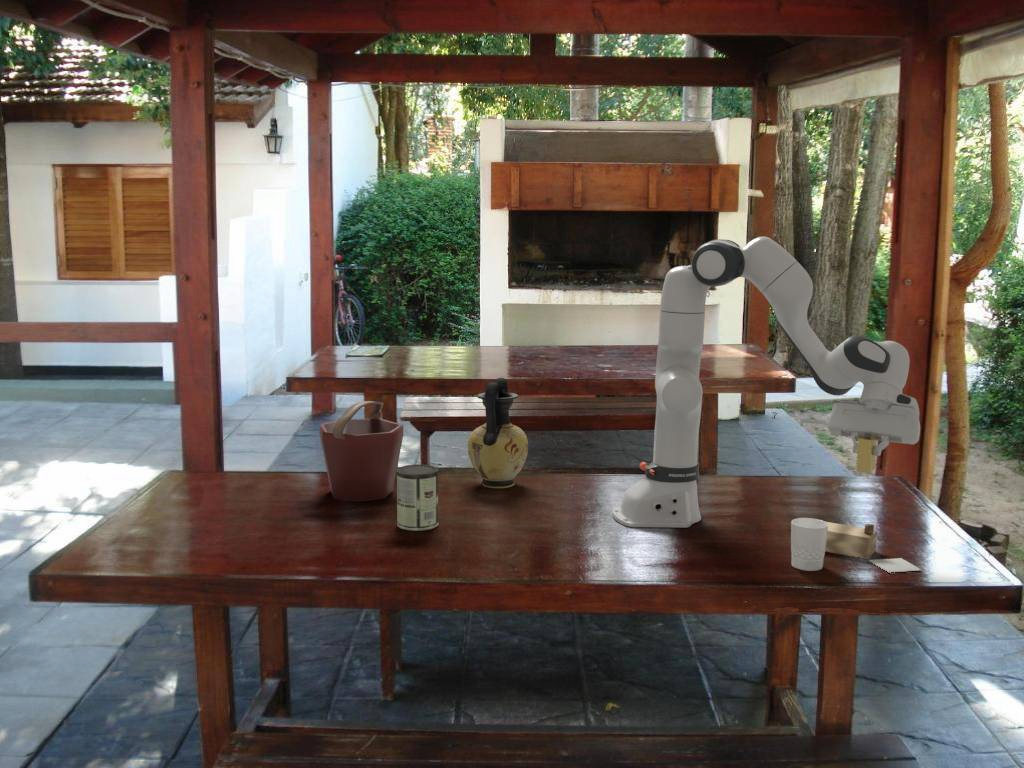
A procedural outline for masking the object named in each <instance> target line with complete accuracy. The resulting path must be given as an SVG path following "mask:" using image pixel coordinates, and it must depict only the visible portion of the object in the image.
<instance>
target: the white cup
mask: <svg viewBox="0 0 1024 768" xmlns="http://www.w3.org/2000/svg"><path fill="white" fill-rule="evenodd" d="M790 522H791V523H790V524H791V525H790V552H791V560H790V561H791V564H790V565H791V566H792V567H793V568H795V569H798V570H801V571H806V572H816V571H820V570H822V569H823V567H824V560H825V559H824V557H825V554H826V551H825V548H826V541H827V532H828V523H826V522H827V521H824V520H822V519H819V518H818V519H817V518H813V517H812V518H811V517H797V518H794V519H792V520H791V521H790Z"/></svg>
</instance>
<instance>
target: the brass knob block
mask: <svg viewBox="0 0 1024 768" xmlns="http://www.w3.org/2000/svg"><path fill="white" fill-rule="evenodd" d="M877 441H878V440H877V437H875V436H871V434H864V435H863V436H862V437H860V438H859V439H858V441H857V443H858V451H857V453H856V454H857V455H856V472H861V473H868V474H871V473H872V472H873V471H874V470H876V460H877V458H876V457H877V456H876V455H873V449H874V445H877V444H878V442H877Z"/></svg>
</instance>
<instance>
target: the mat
mask: <svg viewBox="0 0 1024 768" xmlns="http://www.w3.org/2000/svg"><path fill="white" fill-rule="evenodd" d="M868 560H869V561H870V562H869V563H871V562H872V563H873V564H872V563H871V564H872V565H874V564H875V565H876V567H877V566H878V567H877V568H879V567H880V568H881V570H882V569H883V570H885V571H887V572H888V573H890V574H892V573H891V572H894V573H893V574H896V573H895V572H907V571H919V570H922V569H921V568H919V567H917V565H914V564H913V563H910V562H909V561H907V560H905V559H903V558H902V557H897V558H882V559H881V558H879V559H868ZM875 565H874V566H875ZM880 568H879V569H880ZM883 570H882V571H883ZM885 571H884V572H885ZM887 572H886V573H887ZM888 573H887V574H888ZM907 573H908V572H907Z"/></svg>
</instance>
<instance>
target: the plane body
mask: <svg viewBox="0 0 1024 768" xmlns="http://www.w3.org/2000/svg"><path fill="white" fill-rule="evenodd" d="M825 522H826V523H828V532H827V541H826V548H825V553H826V552H827V553H832V554H838V555H841V556H842V555H843V556H848V557H853V556H854V558H858V557H860V558H859V559H863V558H865V559H864V560H869V558H870V557H872V555H873V554H874V553H876V551H877V550H876V549H877V539H878V538H877V536H878V530H876V529H875V525H874V524H871V523H865V524H864V527H860V526H853V525H847V524H843V523H842V524H841V523H836V522H835V523H834V522H830V521H825Z"/></svg>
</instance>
